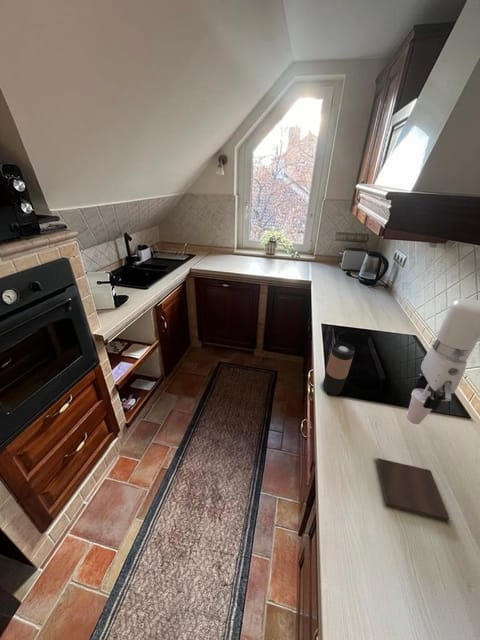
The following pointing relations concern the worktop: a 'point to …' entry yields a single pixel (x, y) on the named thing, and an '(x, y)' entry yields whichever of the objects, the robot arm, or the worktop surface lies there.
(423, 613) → the worktop surface
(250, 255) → the worktop surface
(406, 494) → the walnut board
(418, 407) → the smoothie
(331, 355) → the travel mug
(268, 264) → the worktop surface
